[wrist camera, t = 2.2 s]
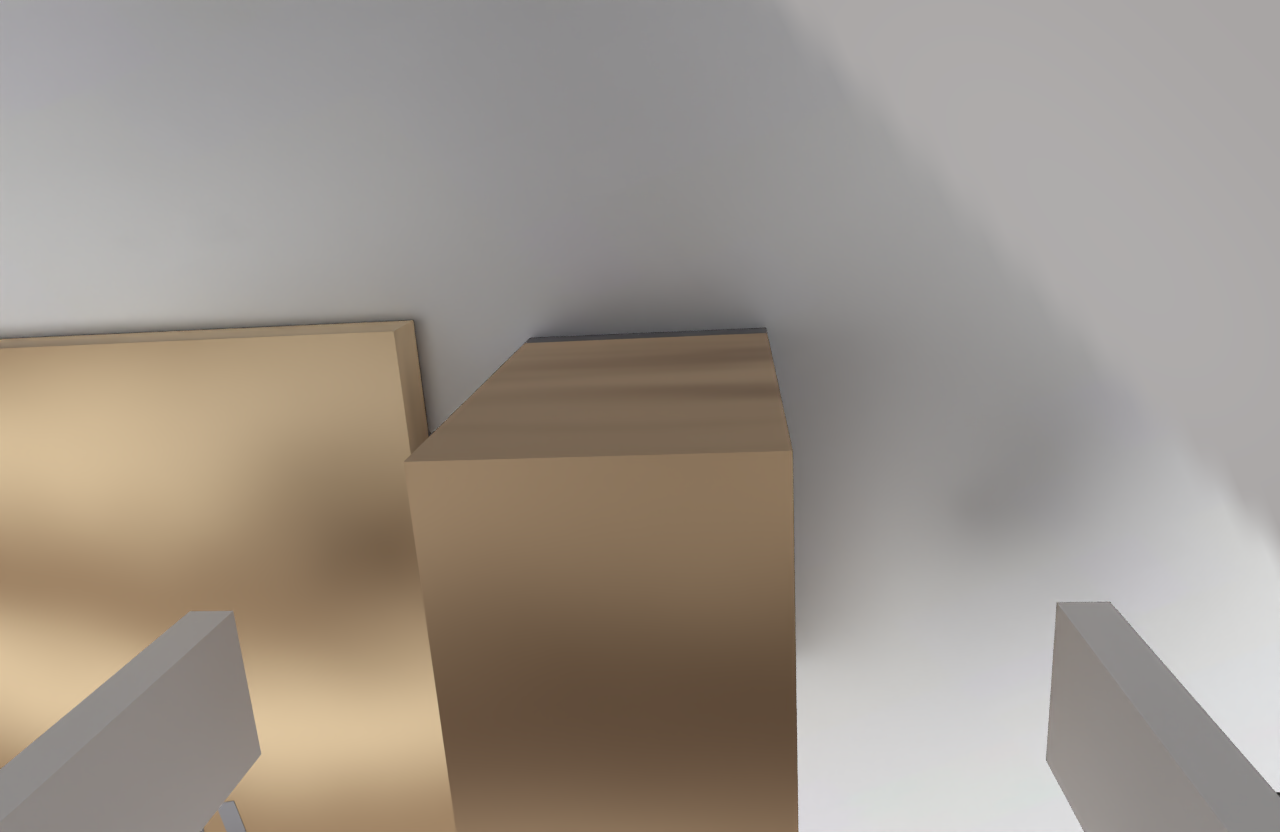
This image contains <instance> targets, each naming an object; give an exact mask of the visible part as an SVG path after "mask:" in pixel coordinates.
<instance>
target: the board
mask: <svg viewBox="0 0 1280 832" xmlns="http://www.w3.org/2000/svg"><path fill="white" fill-rule="evenodd" d="M428 437H429V434H428V427H427V419H426V412H425V404H424V397H423V389H422V382H421V374H420V367H419V360H418V352H417V345H416V337H415V330H414V322H413V320H408V321H386V322H364V323H342V324H320V325H298V326H276V327H253V328H231V329H209V330H187V331H165V332H143V333H121V334H99V335H77V336H54V337H32V338H10V339H0V769H1V768H2V767H4V766H5V765H6V764H7V763H8V762H10V761H11V760H12V759H13V758H14V757H16V756H17V755H18V754H19V753H20V752H22V751H23V750H24V749H25V748H26V747H28V746H29V745H30V744H31V743H32V742H34V741H35V740H36V739H37V738H38V737H40V736H41V735H42V734H43V733H44V732H46V731H47V730H48V729H49V728H50V727H52V726H53V725H54V724H55V723H56V722H58V721H59V720H60V719H61V718H62V717H64V716H65V715H66V714H67V713H68V712H70V711H71V710H72V709H73V708H74V707H76V706H77V705H78V704H79V703H80V702H82V701H83V700H84V699H85V698H86V697H88V696H89V695H90V694H91V693H92V692H94V691H95V690H96V689H97V688H98V687H100V686H101V685H102V684H103V683H104V682H106V681H107V680H108V679H109V678H110V677H112V676H113V675H114V674H115V673H116V672H118V671H119V670H120V669H121V668H122V667H124V666H125V665H126V664H127V663H128V662H130V661H131V660H132V659H133V658H134V657H136V656H137V655H138V654H139V653H140V652H142V651H143V650H144V649H145V648H146V647H148V646H149V645H150V644H151V643H152V642H154V641H155V640H156V639H157V638H158V637H160V636H161V635H162V634H163V633H164V632H166V631H167V630H168V629H169V628H170V627H172V626H173V625H174V624H175V623H176V622H178V621H179V620H180V619H181V618H182V617H184V616H185V615H186V614H187V613H188V612H190V611H233V612H234V617H235V623H236V628H237V633H238V638H239V643H240V648H241V653H242V658H243V663H244V668H245V673H246V678H247V683H248V689H249V694H250V699H251V704H252V709H253V714H254V719H255V724H256V729H257V734H258V739H259V744H260V749H261V755H260V757H259V758H258V759H257V760H256V762H255V763H254V764H253V766H252V767H251V768H250V769H249V771H248V772H247V773H246V774H245V776H244V777H243V778H242V779H241V781H240V782H239V783H238V785H237V786H236V787H235V788H234V790H233V791H232V792H231V793H230V795H229V796H228V797H227V798H226V800H225V801H224V802H223V804H222V805H221V806H220V807H219V809H218V810H217V811H216V812H215V814H214V815H213V816H212V818H211V819H210V820H209V821H208V823H207V824H206V825H205V826H204V828H203V829H202V830H201V831H200V832H456V827H455V820H454V813H453V806H452V799H451V792H450V785H449V778H448V771H447V764H446V757H445V750H444V743H443V736H442V729H441V722H440V715H439V708H438V701H437V694H436V687H435V680H434V673H433V666H432V659H431V652H430V645H429V638H428V631H427V624H426V617H425V610H424V603H423V596H422V589H421V582H420V575H419V568H418V561H417V554H416V547H415V540H414V533H413V526H412V519H411V512H410V505H409V498H408V491H407V484H406V477H405V470H404V463H403V462H404V461H405V460H406V459H407V458H408V457H409V456H410V455H411V454H412V453H413V452H414V451H415V450H416V449H417V448H418V447H419V446H420V445H421V444H422V443H423V442H424V441H425V440H426V439H427V438H428Z"/></svg>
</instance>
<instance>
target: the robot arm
mask: <svg viewBox="0 0 1280 832" xmlns="http://www.w3.org/2000/svg"><path fill="white" fill-rule="evenodd" d="M260 755H261V749H260V744H259V739H258V734H257V729H256V724H255V719H254V714H253V709H252V704H251V699H250V694H249V689H248V683H247V678H246V673H245V668H244V663H243V658H242V653H241V648H240V643H239V638H238V633H237V628H236V623H235V617H234V612H233V611H190V612H188V613H187V614H186V615H185V616H184V617H182V618H181V619H180V620H179V621H178V622H176V623H175V624H174V625H173V626H172V627H170V628H169V629H168V630H167V631H166V632H164V633H163V634H162V635H161V636H160V637H158V638H157V639H156V640H155V641H154V642H152V643H151V644H150V645H149V646H148V647H146V648H145V649H144V650H143V651H142V652H140V653H139V654H138V655H137V656H136V657H134V658H133V659H132V660H131V661H130V662H128V663H127V664H126V665H125V666H124V667H122V668H121V669H120V670H119V671H118V672H116V673H115V674H114V675H113V676H112V677H110V678H109V679H108V680H107V681H106V682H104V683H103V684H102V685H101V686H100V687H98V688H97V689H96V690H95V691H94V692H92V693H91V694H90V695H89V696H88V697H86V698H85V699H84V700H83V701H82V702H80V703H79V704H78V705H77V706H76V707H74V708H73V709H72V710H71V711H70V712H68V713H67V714H66V715H65V716H64V717H62V718H61V719H60V720H59V721H58V722H56V723H55V724H54V725H53V726H52V727H50V728H49V729H48V730H47V731H46V732H44V733H43V734H42V735H41V736H40V737H38V738H37V739H36V740H35V741H34V742H32V743H31V744H30V745H29V746H28V747H26V748H25V749H24V750H23V751H22V752H20V753H19V754H18V755H17V756H16V757H14V758H13V759H12V760H11V761H10V762H8V763H7V764H6V765H5V766H4V767H2V768H1V769H0V832H200V831H201V830H202V829H203V828H204V826H205V825H206V824H207V823H208V821H209V820H210V819H211V818H212V816H213V815H214V814H215V812H216V811H217V810H218V809H219V807H220V806H221V805H222V804H223V802H224V801H225V800H226V798H227V797H228V796H229V795H230V793H231V792H232V791H233V790H234V788H235V787H236V786H237V785H238V783H239V782H240V781H241V779H242V778H243V777H244V776H245V774H246V773H247V772H248V771H249V769H250V768H251V767H252V766H253V764H254V763H255V762H256V760H257V759H258V758H259V757H260ZM1046 761H1047V763H1048V765H1049V767H1050V769H1051V770H1052V772H1053V774H1054V776H1055V778H1056V780H1057V782H1058V784H1059V785H1060V787H1061V789H1062V791H1063V793H1064V795H1065V797H1066V799H1067V800H1068V802H1069V804H1070V806H1071V808H1072V810H1073V812H1074V814H1075V816H1076V817H1077V819H1078V821H1079V823H1080V825H1081V827H1082V829H1083V831H1084V832H1280V792H1275V791H1274V790H1273V789H1272V787H1271V786H1270V785H1269V784H1268V783H1267V782H1266V781H1265V779H1264V778H1263V777H1262V776H1261V775H1260V774H1259V772H1258V771H1257V770H1256V769H1255V768H1254V767H1253V766H1252V764H1251V763H1250V762H1249V761H1248V760H1247V759H1246V758H1245V756H1244V755H1243V754H1242V753H1241V752H1240V751H1239V750H1238V748H1237V747H1236V746H1235V745H1234V744H1233V743H1232V741H1231V740H1230V739H1229V738H1228V737H1227V736H1226V735H1225V733H1224V732H1223V731H1222V730H1221V729H1220V728H1219V727H1218V725H1217V724H1216V723H1215V722H1214V721H1213V720H1212V718H1211V717H1210V716H1209V715H1208V714H1207V713H1206V712H1205V710H1204V709H1203V708H1202V707H1201V706H1200V705H1199V704H1198V702H1197V701H1196V700H1195V699H1194V698H1193V697H1192V695H1191V694H1190V693H1189V692H1188V691H1187V690H1186V689H1185V687H1184V686H1183V685H1182V684H1181V683H1180V682H1179V681H1178V679H1177V678H1176V677H1175V676H1174V675H1173V674H1172V673H1171V671H1170V670H1169V669H1168V668H1167V667H1166V666H1165V664H1164V663H1163V662H1162V661H1161V660H1160V659H1159V658H1158V656H1157V655H1156V654H1155V653H1154V652H1153V651H1152V650H1151V648H1150V647H1149V646H1148V645H1147V644H1146V643H1145V641H1144V640H1143V639H1142V638H1141V637H1140V636H1139V635H1138V633H1137V632H1136V631H1135V630H1134V629H1133V628H1132V627H1131V625H1130V624H1129V623H1128V622H1127V621H1126V620H1125V619H1124V617H1123V616H1122V615H1121V614H1120V613H1119V612H1118V610H1117V609H1116V608H1115V607H1114V606H1113V605H1112V604H1111V602H1057V606H1056V621H1055V636H1054V650H1053V665H1052V679H1051V694H1050V709H1049V723H1048V738H1047V752H1046Z"/></svg>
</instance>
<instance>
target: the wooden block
mask: <svg viewBox="0 0 1280 832" xmlns="http://www.w3.org/2000/svg"><path fill="white" fill-rule="evenodd" d="M403 463H404V470H405V477H406V484H407V491H408V498H409V505H410V512H411V519H412V526H413V533H414V540H415V547H416V554H417V561H418V568H419V575H420V582H421V589H422V596H423V603H424V610H425V617H426V624H427V631H428V638H429V645H430V652H431V659H432V666H433V673H434V680H435V687H436V694H437V701H438V708H439V715H440V722H441V729H442V736H443V743H444V750H445V757H446V764H447V771H448V778H449V785H450V792H451V799H452V806H453V813H454V820H455V827H456V832H798V776H797V708H796V639H795V570H794V501H793V450H792V445H791V440H790V436H789V431H788V427H787V422H786V417H785V413H784V408H783V404H782V399H781V394H780V390H779V385H778V381H777V376H776V371H775V367H774V362H773V358H772V353H771V348H770V344H769V339H768V335H767V330H766V328H749V329H726V330H702V331H679V332H655V333H632V334H608V335H585V336H561V337H538V338H530V339H528V340H527V341H526V342H525V343H524V344H523V345H522V346H521V347H520V348H519V349H518V350H517V351H516V352H515V353H514V354H513V355H512V356H511V357H510V358H509V359H508V360H507V361H506V362H505V363H504V364H503V365H502V366H501V367H500V368H499V369H498V370H497V371H496V372H495V373H494V374H493V375H492V376H491V377H490V378H489V379H488V380H487V381H486V382H485V383H484V384H483V385H481V386H480V387H479V388H478V389H477V390H476V391H475V392H474V393H473V394H472V395H471V396H470V397H469V398H468V399H467V400H466V401H465V402H464V403H463V404H462V405H461V406H460V407H459V408H458V409H457V410H456V411H455V412H454V413H453V414H452V415H451V416H450V417H449V418H448V419H447V420H446V421H445V422H444V423H443V424H442V425H441V426H440V427H439V428H438V429H437V430H436V431H434V432H433V433H432V434H431V435H430V436H429V437H428V438H427V439H426V440H425V441H424V442H423V443H422V444H421V445H420V446H419V447H418V448H417V449H416V450H415V451H414V452H413V453H412V454H411V455H410V456H409V457H408V458H407V459H406V460H405V461H404V462H403Z"/></svg>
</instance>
